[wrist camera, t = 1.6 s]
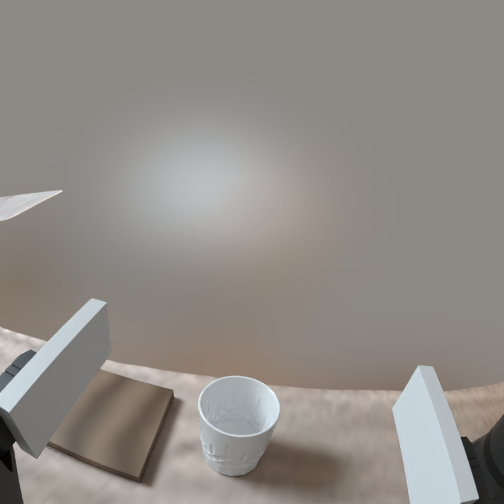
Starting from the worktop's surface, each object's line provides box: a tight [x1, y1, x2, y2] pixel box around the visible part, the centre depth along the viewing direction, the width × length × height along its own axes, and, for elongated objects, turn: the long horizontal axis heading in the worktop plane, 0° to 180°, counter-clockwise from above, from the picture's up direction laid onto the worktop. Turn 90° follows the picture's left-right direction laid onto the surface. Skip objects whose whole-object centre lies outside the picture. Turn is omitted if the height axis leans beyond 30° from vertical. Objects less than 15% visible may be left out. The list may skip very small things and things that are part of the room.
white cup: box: [198, 376, 281, 476], centre depth 31 cm, size 8×8×10 cm
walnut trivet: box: [47, 369, 174, 482], centre depth 33 cm, size 16×14×2 cm
